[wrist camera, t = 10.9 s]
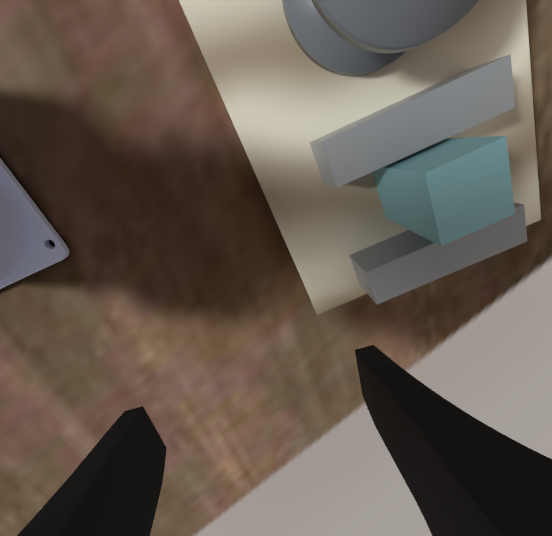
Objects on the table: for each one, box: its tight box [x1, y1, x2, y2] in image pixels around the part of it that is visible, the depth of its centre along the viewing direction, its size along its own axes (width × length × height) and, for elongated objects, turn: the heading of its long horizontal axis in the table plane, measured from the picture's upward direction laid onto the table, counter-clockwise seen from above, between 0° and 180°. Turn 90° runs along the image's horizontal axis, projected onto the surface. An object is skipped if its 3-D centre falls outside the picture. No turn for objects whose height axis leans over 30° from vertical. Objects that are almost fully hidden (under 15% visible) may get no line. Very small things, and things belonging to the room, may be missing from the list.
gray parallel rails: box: [310, 54, 527, 305], centre depth 15 cm, size 8×8×2 cm
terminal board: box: [179, 0, 541, 315], centre depth 14 cm, size 26×14×2 cm, turn 23°
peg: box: [372, 136, 515, 246], centre depth 13 cm, size 3×3×5 cm
